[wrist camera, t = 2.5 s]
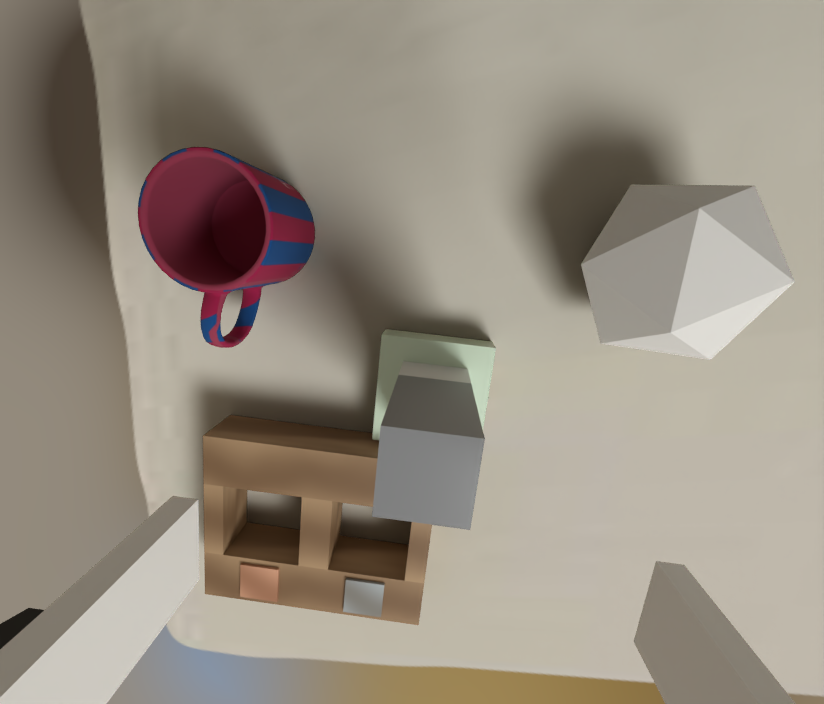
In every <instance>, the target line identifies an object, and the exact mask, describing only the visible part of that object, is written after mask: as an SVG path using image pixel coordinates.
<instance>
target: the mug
mask: <svg viewBox="0 0 824 704" xmlns="http://www.w3.org/2000/svg"><path fill="white" fill-rule="evenodd" d="M138 220H139V227H140V231H141V235H142V239H143V241H144V243H145V246H146V248H147V250H148V252H149V253H150V255H151V257H152V258H153V260H154V261H155V262H156V264H157V265H158V266H159V267H160V268H161V270H162V271H163V272H165V273H166V274H167V275H168V276H169V277H170V278H172V279H173V280H175V281H176V282H178V283H179V284H181V285H183V286H185V287H188V288H190V289H192V290H196V291H201V292H205V293H204V298H203V303H202V308H201V330H202V333H203V337H204V338H205V340H206V342H208V343H209V344H211V345H214V346H217V347H221V348H223V347H234V346H236V345H238V344H239V343H240V342H242V341H243V340H244V339H245V337H246V336H247V335H248V334H249V332H250V330H251V328H252V326H253V323H254V320H255V317H256V313H257V309H258V305H259V301H260V296H261V288H262V287H263V286H266V285H269V284H275V283H279V282H282V281H285V280H287V279H289V278H291V277H293V276H294V275H295V274H297V273H298V272H299V271H300V270H301V269H302V268H303V267H304V265H305V264H306V262H307V261H308V259H309V257H310V255H311V252H312V249H313V245H314V239H315V228H314V222H313V218H312V215H311V212H310V209H309V207H308V205H307V203H306V202H305V200H304V199H303V197H302V196H301V195H300V193H299V192H298V191H297V190H295V189H294V188H293V187H292V186H291V185H289V184H288V183H286V182H285V181H283V180H281V179H279V178H277V177H275V176H273V175H271V174H269V173H266V172H264V171H262V170H260V169H258V168H256V167H254V166H252V165H250V164H248V163H246V162H244V161H241V160H239V159H237V158H235V157H233V156H231V155H229V154H226V153H224V152H222V151H220V150H216V149H211V148H207V147H191V148H185V149H181V150H178V151H176V152H173V153H171V154H169V155H168V156H166V157H165V158H163V159H162V160H161V161H159V162H158V163H157V164H156V165H155V166H154V167H153V169H152V170H151V172H150V173H149V174H148V176H147V177H146V180H145V182H144V184H143V186H142V189H141V193H140V197H139V203H138ZM240 289H243V298H242V304H241V309H240V313H239V316H238V319H237V321H236V324H235V326H234V328H233V329H232V331H231V332H230V333H229V334H227V335H226V336H224V337H223V336H222V335H221V328H220V320H221V312H222V308H223V304H224V302H225V299H226V296H227V294H228V293H230V292H232V291H235V290H240Z"/></svg>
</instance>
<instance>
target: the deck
mask: <svg viewBox="0 0 824 704" xmlns="http://www.w3.org/2000/svg"><path fill="white" fill-rule="evenodd" d="M495 350H496V347H495V346H494V344H493V342H492V341H484V340H476V339H467V338H459V337H450V336H442V335H433V334H424V333H416V332H407V331H399V330H390V329H385V331H384V332H383V333H382V335H381V347H380V358H379V369H378V380H377V391H376V402H375V413H374V424H373V435H372V439H373V440H379V438H380V427H381V423H382V420H383V418H384V415H385V412H386V409H387V406H388V403H389V400H390V398H391V395H392V392H393V389H394V386H395V383H396V381H397V378H398V375H399V372H400V369H401V366H402V364H403V361H407V362H415V363H424V364H432V365H440V366H449V367H457V368H465V369H468V372H469V376H470V380H471V384H472V388H473V393H474V397H475V401H476V405H477V409H478V413H479V417H480V421H481V426H482V430H483V426H484V420H485V414H486V407H487V401H488V395H489V388H490V382H491V376H492V369H493V363H494V357H495Z"/></svg>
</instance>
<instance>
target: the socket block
mask: <svg viewBox="0 0 824 704" xmlns="http://www.w3.org/2000/svg"><path fill="white" fill-rule="evenodd" d="M372 435H373V433H368V432H360V431H352V430H344V429H336V428H328V427H321V426H313V425H305V424H297V423H289V422H282V421H274V420H266V419H258V418H250V417H242V416H235V415H230V416H228V417H227V418H226V419H224V420H223V421H222V422H220V423H219V424H218V425H217V426H215V427H214V428H213V429H211V430H210V431H209V432H207V433H206V434H205V435H203V477H204V552H205V594H209V595H216V596H223V597H230V598H237V599H244V600H250V601H257V602H264V603H271V604H278V605H285V606H291V607H298V608H305V609H312V610H319V611H326V612H332V613H339V614H346V615H353V616H360V617H367V618H373V619H380V620H387V621H394V622H401V623H408V624H414V625H418V624H419V617H420V610H421V602H422V595H423V587H424V580H425V572H426V565H427V558H428V550H429V543H430V535H431V528H432V525H430V524H423V523H416V522H411V529H410V537H409V545H406V544H399V543H391V542H384V541H377V540H370V539H362V538H355V537H348V536H341V535H340V529H341V516H342V503H348V504H356V505H363V506H371V507H373V501H374V490H375V480H376V469H377V459H378V448H379V440H373V439H372ZM247 490H252V491H260V492H267V493H274V494H282V495H289V496H297V497H302V503H301V524H300V530H297V529H290V528H283V527H276V526H269V525H261V524H254V523H247Z"/></svg>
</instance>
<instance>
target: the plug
mask: <svg viewBox="0 0 824 704" xmlns="http://www.w3.org/2000/svg"><path fill="white" fill-rule="evenodd" d="M484 440H485V438H484V434H483V430H482V426H481V421H480V417H479V413H478V409H477V405H476V401H475V397H474V393H473V388H472V384H471V380H470V376H469V372H468V369H465V368H457V367H449V366H440V365H432V364H424V363H415V362H407V361H403V364H402V366H401V369H400V372H399V375H398V378H397V381H396V383H395V386H394V389H393V392H392V395H391V398H390V400H389V403H388V406H387V409H386V412H385V415H384V418H383V420H382V423H381V427H380V438H379V448H378V459H377V469H376V480H375V490H374V501H373V512H372V517H379V518H386V519H394V520H401V521H408V522H416V523H423V524H430V525H438V526H445V527H453V528H460V529H467V530H470V528H471V521H472V515H473V509H474V503H475V496H476V490H477V484H478V477H479V471H480V465H481V459H482V452H483V446H484Z"/></svg>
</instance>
